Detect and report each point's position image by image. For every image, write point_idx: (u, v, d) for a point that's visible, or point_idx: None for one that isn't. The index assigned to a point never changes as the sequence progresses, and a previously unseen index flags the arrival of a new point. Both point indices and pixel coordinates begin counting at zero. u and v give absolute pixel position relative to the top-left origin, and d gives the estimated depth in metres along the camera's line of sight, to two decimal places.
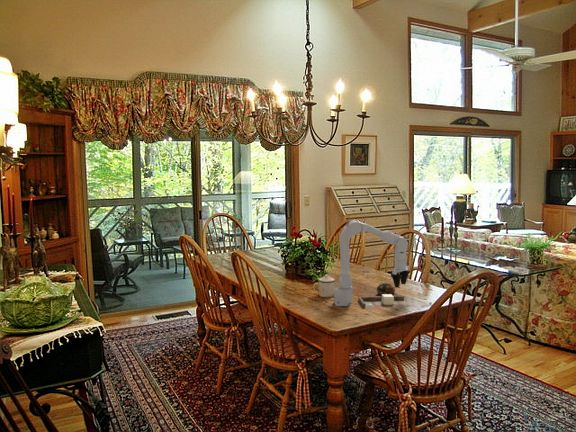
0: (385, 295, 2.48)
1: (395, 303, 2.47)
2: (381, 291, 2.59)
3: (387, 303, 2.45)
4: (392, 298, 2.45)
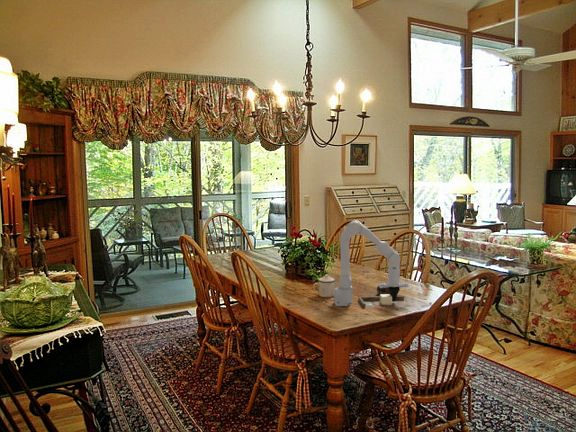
0: (383, 295, 2.47)
1: (395, 303, 2.47)
2: (381, 291, 2.59)
3: (385, 303, 2.45)
4: (390, 298, 2.45)
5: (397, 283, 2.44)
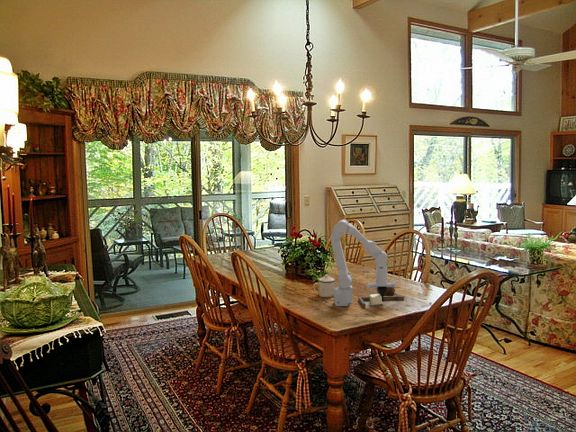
0: (373, 295, 2.47)
1: (395, 303, 2.47)
2: None
3: (375, 303, 2.45)
4: (380, 298, 2.45)
5: (385, 283, 2.44)
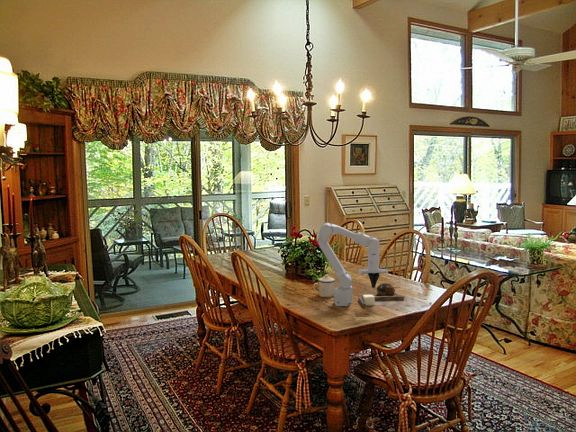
0: (366, 295, 2.47)
1: (395, 303, 2.47)
2: (381, 291, 2.59)
3: (368, 303, 2.45)
4: (373, 298, 2.45)
5: (377, 269, 2.45)
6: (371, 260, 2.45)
